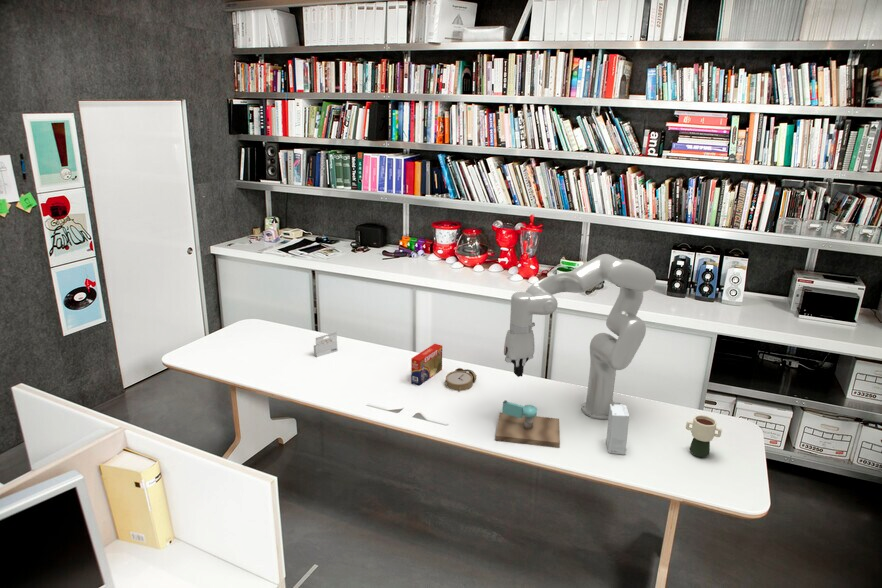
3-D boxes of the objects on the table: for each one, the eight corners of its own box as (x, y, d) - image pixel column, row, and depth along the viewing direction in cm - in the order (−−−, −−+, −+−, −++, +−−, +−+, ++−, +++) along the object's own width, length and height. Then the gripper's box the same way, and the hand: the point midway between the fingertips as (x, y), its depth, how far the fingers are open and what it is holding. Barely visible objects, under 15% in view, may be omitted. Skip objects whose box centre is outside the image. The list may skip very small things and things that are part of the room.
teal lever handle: (537, 418, 212) (538, 406, 211) (533, 424, 208) (534, 412, 206) (505, 409, 218) (506, 397, 216) (500, 415, 213) (501, 403, 212)
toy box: (419, 386, 244) (419, 360, 240) (411, 383, 246) (411, 358, 242) (442, 369, 259) (442, 345, 255) (434, 367, 261) (434, 343, 257)
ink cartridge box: (313, 355, 270) (312, 336, 267) (335, 349, 277) (334, 330, 273) (316, 357, 268) (315, 337, 265) (337, 351, 275) (337, 331, 272)
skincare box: (625, 455, 200) (631, 416, 195) (607, 453, 201) (612, 415, 196) (622, 441, 208) (627, 404, 203) (604, 439, 209) (609, 402, 204)
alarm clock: (440, 380, 243) (458, 361, 254) (441, 390, 245) (459, 371, 256) (463, 387, 238) (481, 368, 248) (464, 397, 240) (482, 377, 251)
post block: (558, 423, 219) (560, 406, 216) (559, 447, 204) (561, 430, 201) (499, 417, 222) (500, 400, 220) (495, 440, 207) (496, 423, 205)
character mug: (716, 452, 203) (723, 419, 198) (715, 463, 197) (722, 429, 192) (682, 444, 207) (688, 411, 203) (680, 454, 201) (686, 421, 197)
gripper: (534, 320, 210) (531, 367, 217) (496, 326, 206) (494, 373, 212) (545, 328, 204) (542, 376, 210) (506, 334, 199) (504, 383, 205)
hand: (518, 374), depth 211 cm, fingers closed
